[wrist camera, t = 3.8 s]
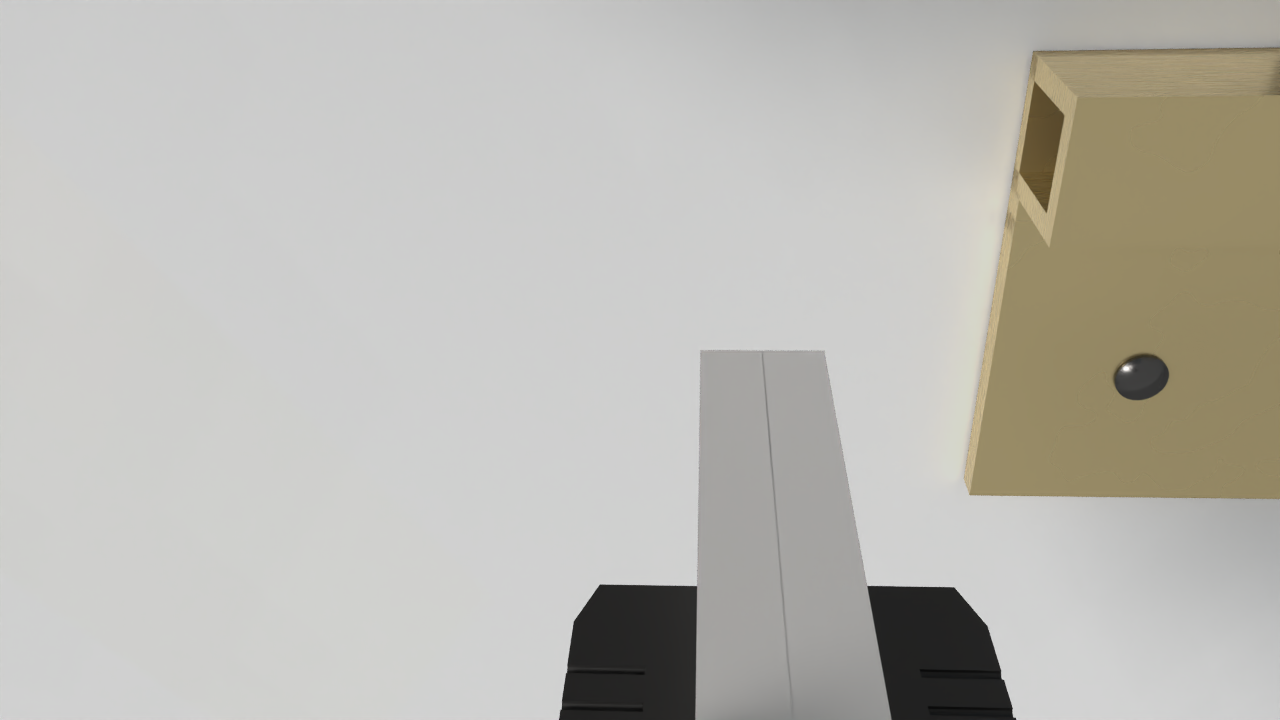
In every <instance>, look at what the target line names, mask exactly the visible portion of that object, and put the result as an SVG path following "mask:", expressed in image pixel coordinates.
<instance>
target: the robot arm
mask: <svg viewBox="0 0 1280 720" xmlns="http://www.w3.org/2000/svg"><path fill="white" fill-rule="evenodd" d="M567 665H568V669H567V673H566V678H565V684H564V691H563V698H562V710H561V711H560V718H559V720H1016V718H1013V714H1012V709H1013V708H1012V705H1011V701H1010V698H1009V695H1008V692H1007V688H1006V685H1005V682H1004V680H1002V679H1001V669H1000V666H999V662H998V659H997V656H996V653H995V649H994V646H993V643H992V640H991V636H990V633H989V630H988V627H987V625H986V624H985V623H984V622H983V621H982V619H981V618H980V617H979V616H978V615H977V613H976V612H975V611H974V610H973V609H972V608H971V606H970V605H969V604H968V603H967V602H966V601H965V599H964V598H963V597H962V596H961V595H960V594H959V592H958V591H957V590H956V589H955V588H954V587H895V586H867V583H866V577H865V572H864V566H863V561H862V555H861V550H860V544H859V539H858V533H857V528H856V522H855V517H854V511H853V506H852V500H851V495H850V490H849V484H848V479H847V473H846V468H845V462H844V457H843V451H842V446H841V440H840V435H839V429H838V424H837V418H836V413H835V407H834V402H833V396H832V391H831V385H830V380H829V375H828V369H827V364H826V358H825V353H824V351H742V350H701V358H700V428H699V499H698V570H697V586H652V585H599V587H598V588H597V590H596V591H595V592H594V594H593V595H592V597H591V598H590V599H589V601H588V602H587V604H586V605H585V607H584V608H583V609H582V611H581V612H580V614H579V615H578V616H577V618H576V619H575V621H574V625H573V631H572V638H571V645H570V651H569V658H568V664H567Z"/></svg>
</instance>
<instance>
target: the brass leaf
mask: <svg viewBox="0 0 1280 720" xmlns="http://www.w3.org/2000/svg"><path fill="white" fill-rule="evenodd" d="M964 480H965V483H966V486H967V489H968V492H969V495H991V496H1076V497H1161V498H1246V499H1280V48H1215V49H1147V50H1079V51H1033V55H1032V62H1031V68H1030V74H1029V80H1028V86H1027V92H1026V99H1025V105H1024V111H1023V117H1022V123H1021V129H1020V136H1019V142H1018V148H1017V154H1016V160H1015V166H1014V173H1013V179H1012V185H1011V191H1010V197H1009V203H1008V210H1007V216H1006V222H1005V228H1004V234H1003V240H1002V247H1001V253H1000V259H999V265H998V271H997V277H996V284H995V290H994V296H993V302H992V308H991V314H990V321H989V327H988V333H987V339H986V345H985V351H984V358H983V364H982V370H981V376H980V382H979V388H978V395H977V401H976V407H975V413H974V419H973V425H972V431H971V438H970V444H969V450H968V456H967V462H966V468H965V475H964Z"/></svg>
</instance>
